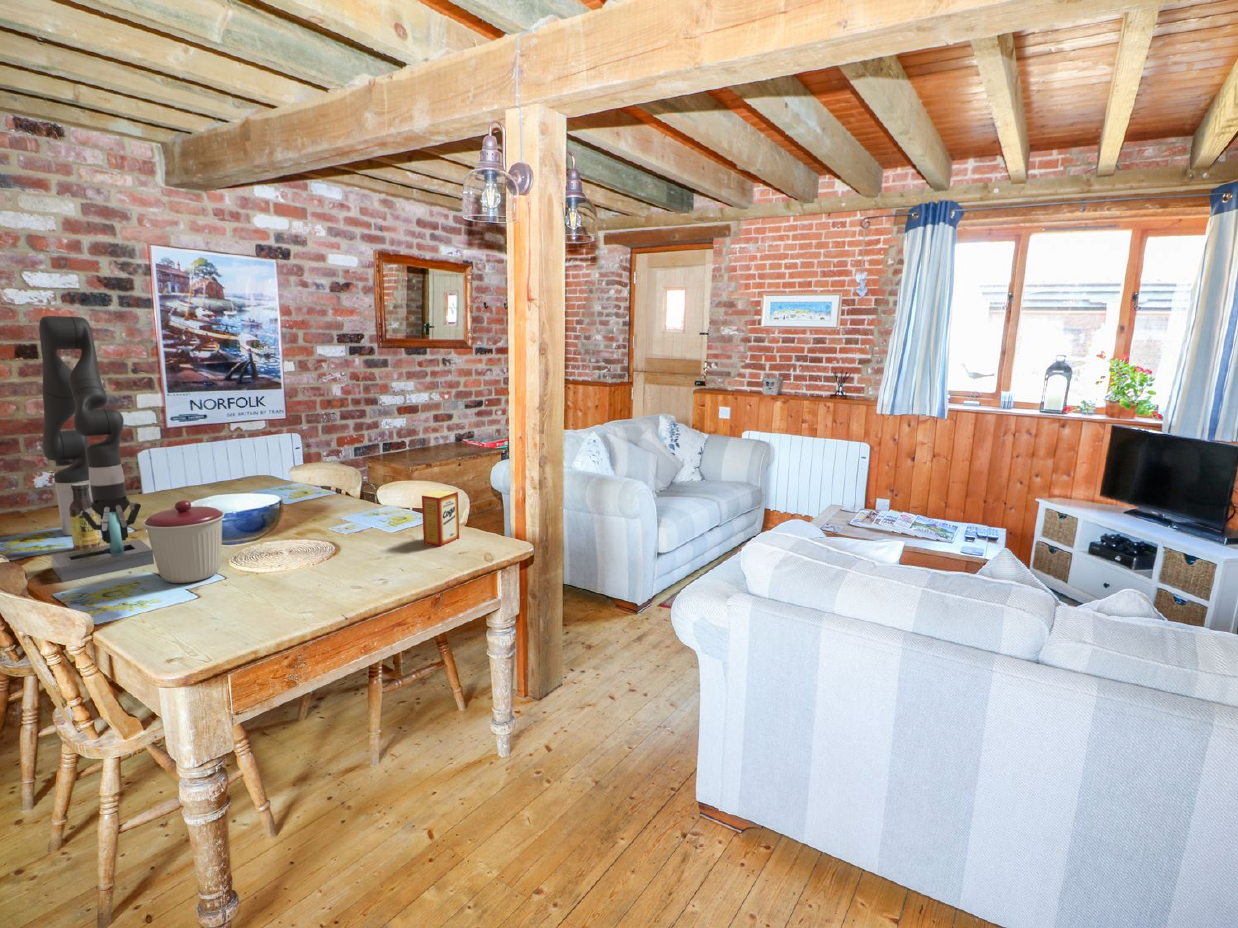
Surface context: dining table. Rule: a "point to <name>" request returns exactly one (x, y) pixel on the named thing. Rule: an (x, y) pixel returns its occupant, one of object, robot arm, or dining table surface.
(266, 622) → the dining table surface
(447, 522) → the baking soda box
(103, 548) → the grey slotted block
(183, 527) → the canister
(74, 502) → the sauce bottle
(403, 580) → the dining table surface
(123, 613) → the dining table surface
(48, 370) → the robot arm
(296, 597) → the dining table surface
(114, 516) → the peg
